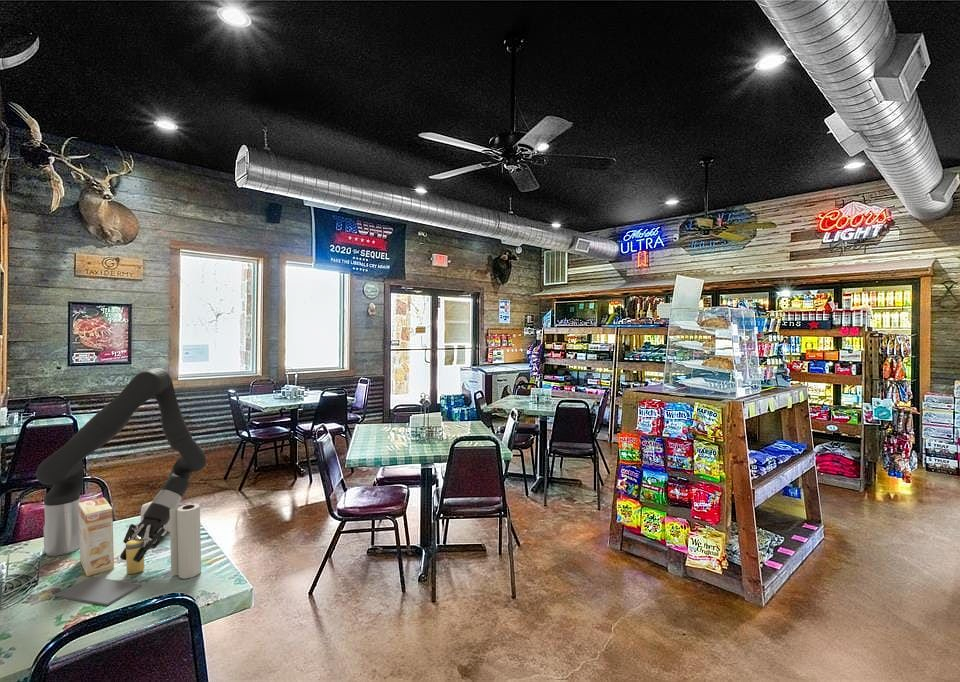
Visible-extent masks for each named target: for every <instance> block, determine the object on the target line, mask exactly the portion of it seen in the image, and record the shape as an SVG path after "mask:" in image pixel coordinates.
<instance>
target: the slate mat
mask: <svg viewBox="0 0 960 682" xmlns="http://www.w3.org/2000/svg"><path fill="white" fill-rule="evenodd" d="M141 587H142V584H141V583H135V582H129V581H123V580H116V579H111V578H106V577H105V578H104V577H97V576H92V575H90V577H89V576H88V577H87V578H85V579H83V580H81V581H80V582H78V583H75V584H74V585H72V586H70V587H67V588H65V589H64V590H62V591H60V592H58V593H57V592H56V594H54V597H55V598H60V599H66V600H71V601H78V602H83V603H89V604H95V605H101V606H107V605H108V606H110V605H112V604H113V603H115V602H117V601H118V600H119V599H122V598H123V597H125V596H126V595H128V594H131V593H132V592H134V591H135V590H137V589H138V588H141ZM109 604H110V605H109ZM108 606H107V607H108Z"/></svg>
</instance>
